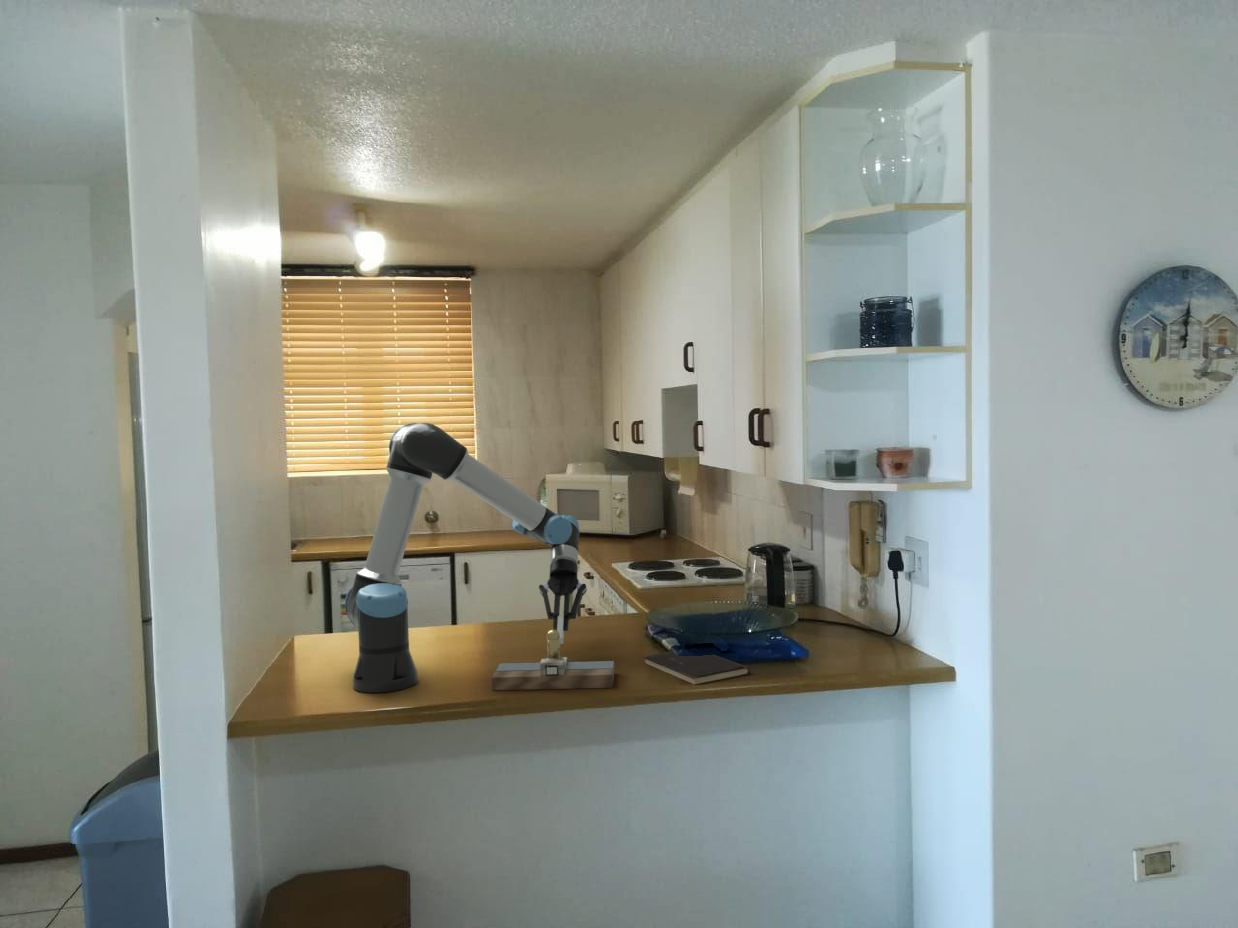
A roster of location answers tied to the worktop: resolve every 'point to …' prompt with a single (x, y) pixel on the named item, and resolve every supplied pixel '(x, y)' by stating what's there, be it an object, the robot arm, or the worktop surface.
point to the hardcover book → (696, 667)
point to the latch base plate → (567, 666)
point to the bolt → (553, 649)
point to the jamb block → (552, 678)
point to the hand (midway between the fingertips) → (560, 640)
